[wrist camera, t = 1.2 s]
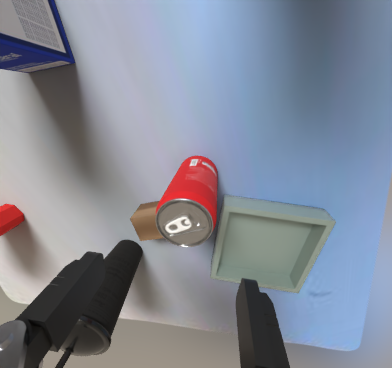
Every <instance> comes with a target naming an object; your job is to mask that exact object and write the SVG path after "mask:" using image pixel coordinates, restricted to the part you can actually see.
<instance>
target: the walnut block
mask: <svg viewBox="0 0 392 368" xmlns="http://www.w3.org/2000/svg"><path fill="white" fill-rule="evenodd" d="M159 202H160V201H157V202H151V203H145V204H141V205H140V206H139V208H138V209H137V210H136V212H135V213H134V214H133V216H132V217H131V218H130V220H131V222H132V224H133V226H134V228H135V230H136V232H137V235H138V237H139V239H140V241H144V240H152V239H160V238H163V237H162V236H161V234H160V233H159V231H158V229H157V227H156V222H155V218H156V208H157V205H158V203H159Z"/></svg>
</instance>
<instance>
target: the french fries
mask: <svg viewBox="0 0 392 368" xmlns="http://www.w3.org/2000/svg"><path fill="white" fill-rule="evenodd" d="M23 221H24V215H23V213H22V212H21V211H20V210H19V209H18V208H17V207H15V206H14V205H10V204H5V205H3V206H0V236H1V235H3V234H5V233H6V232H8V231H9V230H11V229H12V228H14V227H16V226H17V225H19V224H20V223H21V222H23Z"/></svg>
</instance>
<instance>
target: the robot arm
mask: <svg viewBox="0 0 392 368" xmlns="http://www.w3.org/2000/svg"><path fill="white" fill-rule="evenodd" d="M105 273H106V271H105V265H104V258H103V254H102V253H96V252H90V251H89V252H86V253H85V254H84V255H83V257H82V258H81V259H80V260H74V261H73V262H71V263H70V264H68V265H67V266H65V267H64V268H63V270H62V271H61V272H60V273H59V274H58V275H57V277H55V278H54V279H53V280H52V281H51V282H50V284H49V285H48V286H47V287H46V288H45V289H44V290H43V291H42V292H41V293H40V294H39V295H38V296H37V297H36V298H35V300H34V301H33V302H32V303H31V304H30V305H29V306H28V307H27V308H26V309H25V310H24V311H23V312H22V314H20V316H19V317H17V318H16V319H15V320H13V321H9V322H7V323H4V324H2V325H0V368H42V366H43V358H44V356H45V355H46V354H47V352H48V351H49V350H50V351H55V352H58V351H59V349H60V348H61V346H62V345H63V343H64V341H65V340H66V338H67V337H68V335H69V334H70V332H71V331H72V329H73V328H74V326H75V324H76V323H77V321H78V320H79V318H80V317H81V315H82V314H83V312H84V310H85V309H86V307H87V306H88V304H89V303H90V301H91V300H92V298H93V296H94V295H95V293H96V292H97V290H98V289H99V287H100V286H101V284H102V282H103V280H104V278H105ZM236 315H237V327H238V339H239V351H240V363H241V368H290V365H289V362H288V358H287V354H286V351H285V347H284V343H283V339H282V335H281V332H280V328H279V324H278V321H277V318H276V313H275V309H274V306H273V303H272V301H271V300H270V298H269V297H268V295H267V293H262V292H259V287H258V283H257V281H256V280H252V279H246V278H242V279H241V283H240V286H239V289H238V293H237V296H236Z"/></svg>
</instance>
